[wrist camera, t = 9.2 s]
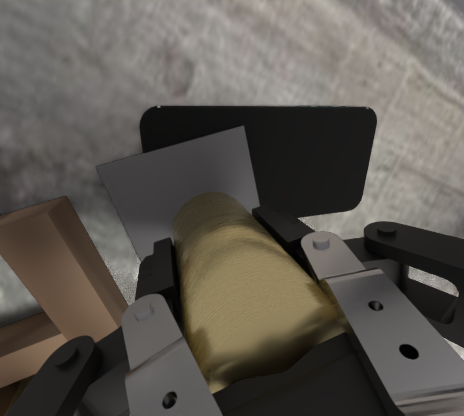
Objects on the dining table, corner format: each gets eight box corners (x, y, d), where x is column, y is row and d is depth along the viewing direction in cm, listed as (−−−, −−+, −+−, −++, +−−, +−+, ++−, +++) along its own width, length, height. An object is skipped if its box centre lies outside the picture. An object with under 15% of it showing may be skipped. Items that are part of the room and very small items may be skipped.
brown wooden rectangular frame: (66, 195, 12) (47, 213, 10) (160, 363, 18) (161, 397, 16) (-173, 266, 11) (-261, 306, 8) (16, 427, 16) (-6, 476, 14)
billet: (239, 181, 12) (357, 276, 5) (254, 246, 14) (360, 391, 6) (160, 206, 11) (162, 359, 4) (186, 272, 13) (220, 464, 6)
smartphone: (136, 104, 12) (380, 106, 16) (137, 104, 12) (372, 106, 16) (154, 238, 14) (360, 210, 18) (154, 233, 15) (353, 207, 19)
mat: (241, 125, 14) (243, 125, 13) (265, 240, 17) (267, 243, 17) (97, 165, 12) (95, 167, 12) (153, 283, 16) (153, 287, 15)
